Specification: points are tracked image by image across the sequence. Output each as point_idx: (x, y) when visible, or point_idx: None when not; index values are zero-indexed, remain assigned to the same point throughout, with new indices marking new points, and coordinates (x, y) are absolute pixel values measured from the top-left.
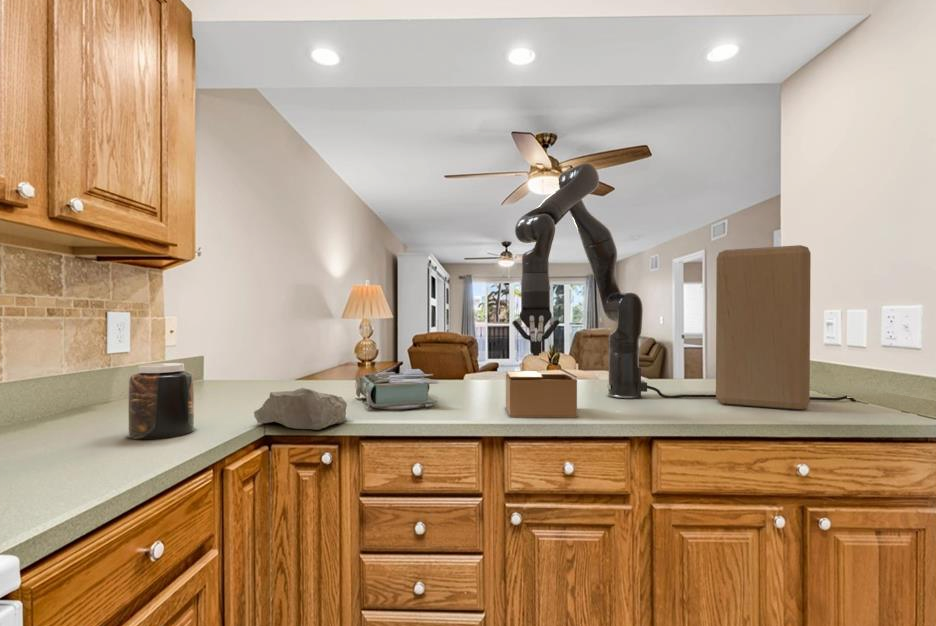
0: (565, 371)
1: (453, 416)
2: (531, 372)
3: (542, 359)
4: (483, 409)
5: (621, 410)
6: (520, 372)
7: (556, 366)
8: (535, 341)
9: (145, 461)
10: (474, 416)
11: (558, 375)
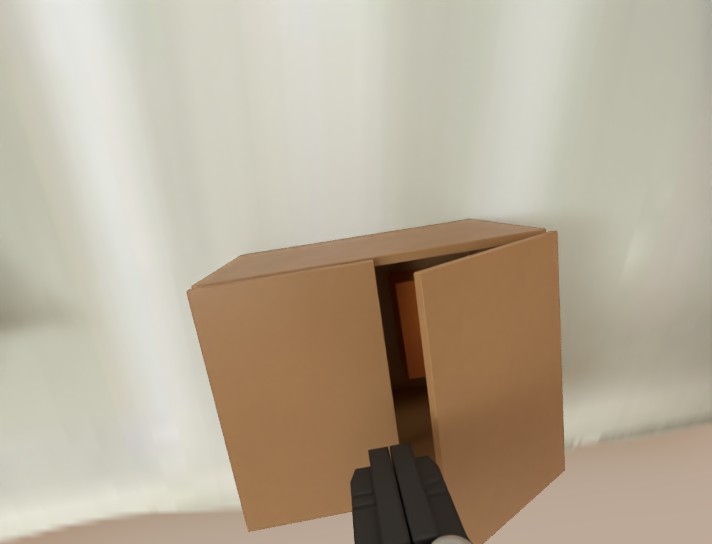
0: (525, 501)
1: (86, 434)
2: (348, 333)
3: (433, 398)
4: (159, 298)
5: (650, 238)
6: (284, 345)
7: (492, 533)
8: (414, 540)
9: None
10: (157, 422)
11: (498, 244)
